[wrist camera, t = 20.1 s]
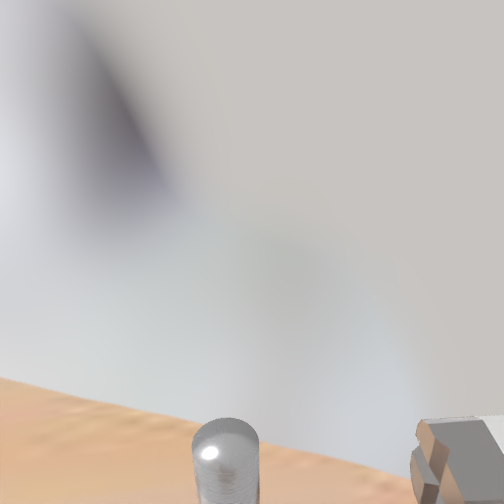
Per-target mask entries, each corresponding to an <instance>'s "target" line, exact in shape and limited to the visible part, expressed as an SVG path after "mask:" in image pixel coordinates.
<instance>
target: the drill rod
mask: <svg viewBox="0 0 504 504" xmlns="http://www.w3.org/2000/svg"><path fill="white" fill-rule="evenodd" d="M192 455H193V464H194V474H195V483H196V492H197V501H198V504H260V486H259V439H258V436H257V434H256V432H255V430H254V429H253V428H252V427H251V426H250V425H249V424H247V423H246V422H244V421H242V420H239V419H235V418H220V419H216V420H213V421H211V422H208V423H207V424H205V425H204V426H202V427H201V428H200V429H199V430H198V431H197V433H196V434H195V436H194V438H193V442H192Z"/></svg>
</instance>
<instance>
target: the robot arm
mask: <svg viewBox="0 0 504 504" xmlns="http://www.w3.org/2000/svg"><path fill="white" fill-rule="evenodd" d="M416 437H417V439H418V442H419V444H420V445H419V446H418V447H417V448H416V449H415V450H414V451H412V455H411V462H410V471H411V481H412V486H413V490H414V493H415V496H416V499H417V502H418V504H504V415H497V416H478V417H474V416H471V417H456V418H440V419H424V420H421V421H420V422H419V423H418V426H417V430H416Z"/></svg>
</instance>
